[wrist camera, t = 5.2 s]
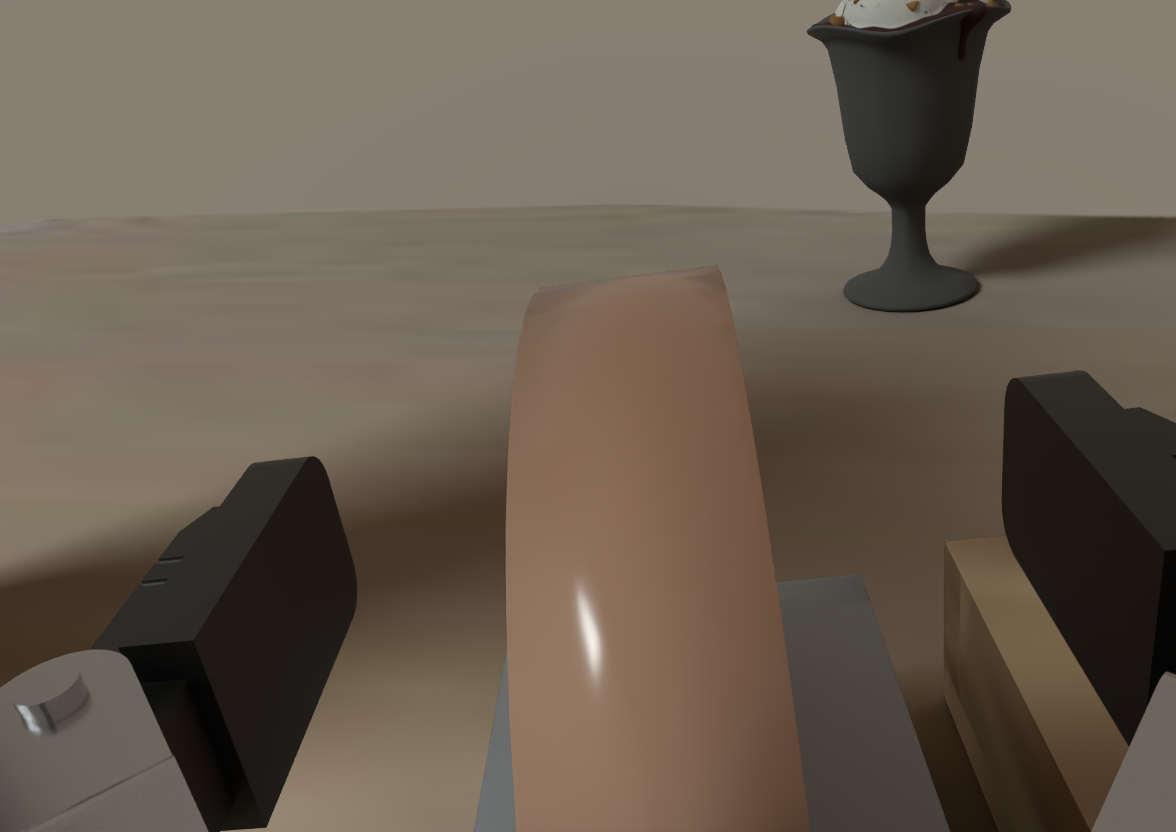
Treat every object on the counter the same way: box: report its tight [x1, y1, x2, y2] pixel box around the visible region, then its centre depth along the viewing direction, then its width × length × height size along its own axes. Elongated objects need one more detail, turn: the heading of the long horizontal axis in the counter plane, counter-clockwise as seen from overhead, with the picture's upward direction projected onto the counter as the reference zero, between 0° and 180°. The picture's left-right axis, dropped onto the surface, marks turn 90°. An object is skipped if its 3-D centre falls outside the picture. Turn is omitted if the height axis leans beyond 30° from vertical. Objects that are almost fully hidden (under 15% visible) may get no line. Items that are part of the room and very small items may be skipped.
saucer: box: [506, 265, 810, 832], centre depth 11 cm, size 10×2×10 cm, turn 178°
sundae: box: [807, 0, 1011, 312], centre depth 36 cm, size 7×7×15 cm
